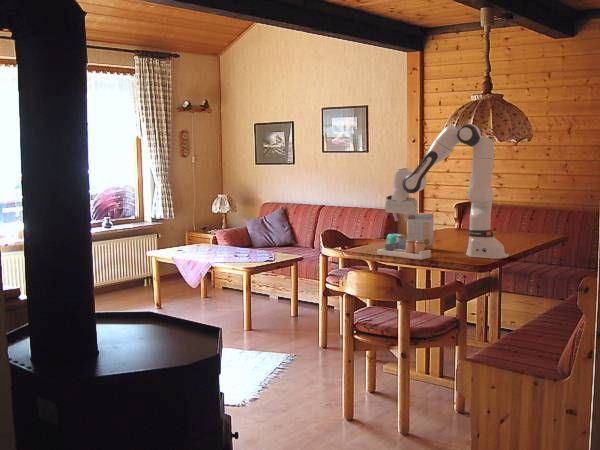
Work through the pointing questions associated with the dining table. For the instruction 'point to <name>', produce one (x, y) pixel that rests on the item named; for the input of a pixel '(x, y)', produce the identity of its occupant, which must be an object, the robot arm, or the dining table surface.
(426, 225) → the cracker box
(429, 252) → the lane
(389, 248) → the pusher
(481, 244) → the robot arm
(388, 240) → the decorative dice
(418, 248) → the jar front
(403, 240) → the blue jar
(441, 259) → the dining table surface
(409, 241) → the jar
